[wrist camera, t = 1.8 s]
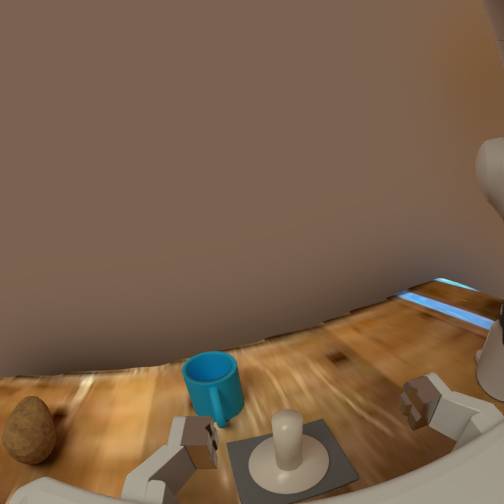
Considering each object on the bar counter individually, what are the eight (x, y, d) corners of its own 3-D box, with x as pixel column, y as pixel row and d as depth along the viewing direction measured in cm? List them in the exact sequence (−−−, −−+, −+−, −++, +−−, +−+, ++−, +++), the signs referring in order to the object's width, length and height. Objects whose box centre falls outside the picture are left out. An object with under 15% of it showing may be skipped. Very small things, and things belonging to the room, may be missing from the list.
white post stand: (312, 427, 33) (313, 379, 31) (341, 478, 24) (352, 436, 21) (242, 445, 32) (231, 400, 29) (259, 503, 22) (249, 467, 20)
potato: (72, 420, 35) (51, 386, 32) (60, 481, 21) (29, 447, 19) (31, 419, 32) (10, 386, 30) (14, 474, 19) (-16, 440, 17)
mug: (192, 392, 44) (181, 355, 42) (238, 384, 45) (231, 347, 43) (198, 444, 33) (183, 407, 30) (254, 434, 34) (247, 396, 32)
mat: (322, 420, 35) (322, 418, 35) (358, 479, 23) (359, 477, 23) (227, 444, 32) (226, 443, 32) (244, 514, 21) (243, 513, 21)
